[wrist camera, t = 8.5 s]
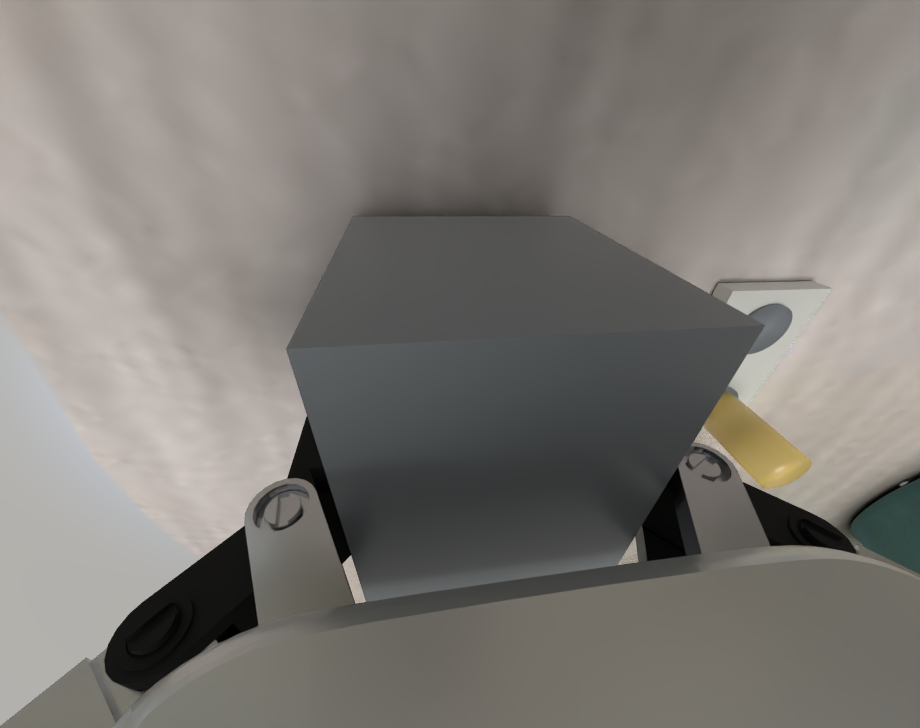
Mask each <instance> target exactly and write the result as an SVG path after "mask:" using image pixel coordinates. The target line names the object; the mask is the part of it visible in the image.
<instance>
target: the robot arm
mask: <svg viewBox="0 0 920 728" xmlns="http://www.w3.org/2000/svg"><path fill="white" fill-rule="evenodd" d="M635 537H636V545H637V553H638V561H639V563H631V564H624V565H617V566H609V567H602V568H595V569H588V570H581V571H574V572H567V573H560V574H552V575H545V576H538V577H531V578H524V579H517V580H510V581H503V582H496V583H489V584H483V585H476V586H469V587H462V588H455V589H448V590H441V591H435V592H428V593H421V594H414V595H407V596H400V597H394V598H388V599H382V600H376V601H370V602H364V603H358V604H355V601H354V598H353V595H352V592H351V589H350V586H349V583H348V580H347V577H346V574H345V571H344V568H343V565H342V564H343V563H344V562H345V561H346V559H347V558H348V557H349V556H350V555H351V552H350V549H349V546H348V543H347V540H346V536H345V533H344V530H343V527H342V524H341V521H340V518H339V514H338V511H337V508H336V505H335V502H334V499H333V495H332V492H331V489H330V486H329V483H328V480H327V476H326V473H325V470H324V467H323V464H322V461H321V457H320V454H319V451H318V448H317V445H316V442H315V438H314V435H313V432H312V429H311V426H310V423H309V419H308V416H307V417H306V420H305V424H304V427H303V430H302V433H301V436H300V440H299V443H298V446H297V449H296V452H295V456H294V459H293V462H292V465H291V468H290V472H289V475H288V478H287V479H284V480H281V481H277V482H275V483H273V484H271V485H269V486H267V487H266V488H264V489H263V490H262V491H261V492H260V493H258V494H257V495H256V496H255V498H254V499H253V500H252V501H251V503H250V504H249V506H248V508H247V511H246V513H245V526H244V527H242V528H241V529H240V530H238V531H237V532H236V533H234V534H233V535H232V536H230V537H229V538H228V539H226V540H225V541H224V542H222V543H221V544H220V545H218V546H217V547H216V548H214V549H213V550H212V551H210V552H209V553H208V554H206V555H205V556H204V557H202V558H201V559H200V560H198V561H197V562H196V563H194V564H193V565H192V566H190V567H189V568H188V569H186V570H185V571H184V572H182V573H181V574H180V575H178V576H177V577H176V578H174V579H173V580H172V581H170V582H169V583H168V584H166V585H165V586H164V587H162V588H161V589H160V590H159V591H157V592H156V593H154V594H153V595H152V596H150V597H149V598H148V599H146V600H145V601H144V602H142V603H141V604H140V605H139V606H138V607H137V608H136V609H134V610H133V611H132V612H131V613H130V614H129V615H128V616H127V617H126V619H125V620H124V621H123V622H122V624H121V625H120V626H119V627H118V628H117V630H116V631H115V633H114V635H113V637H112V639H111V641H110V642H109V644H108V647H107V649H106V650H104V651H103V652H102V653H101V654H99V655H98V656H97V657H96V658H94V660H90V659H88V658H85V659H84V660H83V661H81V662H80V663H79V664H78V665H76V666H75V667H74V668H73V669H71V670H70V671H69V672H68V673H66V674H65V675H64V676H63V677H61V678H60V679H59V680H58V681H56V682H55V683H54V684H53V685H51V686H50V687H49V688H48V689H46V690H45V691H44V692H42V693H41V694H40V695H39V696H38V697H36V698H35V699H34V700H32V701H31V702H30V703H29V704H27V705H26V706H25V707H24V708H22V709H21V710H20V711H19V712H17V713H16V714H15V715H14V716H12V717H11V718H10V719H9V720H7V721H6V722H5V723H4V724H2V725H1V726H0V728H920V574H918V573H916V572H914V571H912V570H910V569H908V568H906V567H904V566H902V565H900V564H897V563H895V562H893V561H891V560H889V559H887V558H885V557H883V556H881V555H879V554H877V553H875V552H873V551H871V550H869V549H866V548H864V547H862V546H860V545H856V546H855V547H853V545H852V544H851V543H850V541H849V540H848V539H847V538H846V537H845V536H844V535H843V534H842V533H841V532H840V531H839V530H838V529H837V528H835V527H834V526H832V525H831V524H830V523H828V522H827V521H825V520H823V519H822V518H820V517H818V516H816V515H814V514H812V513H810V512H807V511H805V510H803V509H801V508H799V507H796V506H794V505H792V504H790V503H788V502H785V501H783V500H781V499H779V498H777V497H774V496H772V495H770V494H768V493H766V492H763V491H761V490H759V489H757V488H755V487H752V486H750V485H748V484H746V483H744V482H742V480H741V478H740V475H739V473H738V471H737V469H736V468H735V466H734V465H733V463H732V462H731V461H730V460H729V459H728V458H727V457H726V456H724V455H723V454H722V453H720V452H719V451H717V450H715V449H713V448H711V447H709V446H707V445H704V444H701V443H696V442H693V443H692V445H691V446H690V448H689V450H688V451H687V453H686V454H685V456H684V458H683V459H682V461H681V463H680V464H679V466H678V467H677V469H676V471H675V472H674V474H673V475H672V477H671V479H670V480H669V482H668V484H667V485H666V487H665V488H664V490H663V492H662V493H661V495H660V497H659V498H658V500H657V501H656V503H655V505H654V506H653V508H652V509H651V511H650V513H649V514H648V516H647V518H646V519H645V521H644V522H643V524H642V526H641V527H640V529H639V531H638V532H637V534H636V535H635Z"/></svg>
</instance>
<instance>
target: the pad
mask: <svg viewBox="0 0 920 728" xmlns="http://www.w3.org/2000/svg"><path fill="white" fill-rule="evenodd" d="M831 290H832V288H829V287H827V286H825V285H822V284H820V283H817V282H815V281H792V282H746V283H718V284H717V286H716V288H715V290H714V292H713V294H712V296H714V297H716V298H717V299H719V300H721V301H723V302H725V303H726V304H728V305H730V306H732V307H734V308H735V309H737V310H739V311H741V312H742V313H744V314H746V315H748V316H750V317H751V318H753V319H755V320H757V321H759V322H760V323H762V324H764V325H765V327H764V328H763V330H762V331H761V333H760V335H759V336H758V338H757V340H756V341H755V343H754V344H753V346H752V348H751V349H750V351H749V352H748V354H747V356H746V357H745V359H744V361H743V362H742V364H741V365H740V367H739V369H738V370H737V372H736V374H735V375H734V377H733V378H732V380H731V382H730V383H729V385H728V386H727V388H726V390H725V391H724V393H723V395H722V396H721V398H720V399H719V401H718V403H717V404H716V406H715V408H714V409H713V411H712V412H711V414H710V416H709V417H708V419H707V420H706V422H705V424H704V425H703V427H702V428H705V429H706V430H707V431H708V432H709V433H710V434H711V435H712V436H713V437H714V438H715V439H716V440H717V441H718V442H719V443H720V444H721V445H722V446H723V447H724V448H725V449H726V450H727V451H728V452H729V453H730V455H731V456H732V457H733V458H734V459H735V460H736V461H737V462H738V463H739V464H740V465H741V466H742V467H743V468H744V469H745V470H746V471H747V472H748V473H749V474H750V475H751V476H752V477H753V478H754V479H755V480H756V482H757V483H758V484H759V485H760V486H761V487H763V488H767V489H770V488H776V487H780V486H783V485H786V484H788V483H790V482H792V481H794V480H796V479H797V478H799V477H800V476H802V475H803V474H804V473H805V472H807V470H808V469H809V468H810V466H811V463H812V462H811V460H810V459H809V458H807V457H806V456H805V455H804V454H803V453H802V452H800V451H799V450H798V449H797V448H796V447H794V446H793V445H792V444H791V443H790V442H789V441H787V440H786V439H785V438H784V437H783V436H782V435H780V434H779V433H778V432H777V431H776V430H774V429H773V428H772V427H771V426H770V425H769V424H767V423H766V422H765V421H764V420H763V419H761V418H760V417H759V416H758V415H757V414H756V413H754V412H753V411H752V410H751V409H750V408H748V407H747V406H748V405H749V403H750V402H751V400H752V399H753V398H754V396H755V395H756V393H757V392H758V391H759V389H760V388H761V387H762V385H763V384H764V382H765V381H766V380H767V378H768V377H769V376H770V374H771V373H772V371H773V370H774V369H775V367H776V366H777V364H778V363H779V362H780V360H781V359H782V358H783V356H784V355H785V353H786V352H787V351H788V349H789V348H790V347H791V345H792V344H793V342H794V341H795V340H796V338H797V337H798V335H799V334H800V333H801V331H802V330H803V329H804V327H805V326H806V324H807V323H808V322H809V320H810V319H811V318H812V316H813V315H814V313H815V312H816V311H817V309H818V308H819V306H820V305H821V304H822V302H823V301H824V300H825V298H826V297H827V295H828V294H829V293H830V291H831Z"/></svg>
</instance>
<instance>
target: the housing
mask: <svg viewBox="0 0 920 728" xmlns="http://www.w3.org/2000/svg"><path fill="white" fill-rule="evenodd" d="M764 327H765V325H764V324H762V323H760V322H759V321H757V320H755V319H753V318H751V317H750V316H748V315H746V314H744V313H742V312H741V311H739V310H737V309H735V308H734V307H732V306H730V305H728V304H726V303H725V302H723V301H721V300H719V299H717V298H716V297H714V296H712V295H710V294H708V293H707V292H705V291H703V290H701V289H700V288H698V287H696V286H694V285H692V284H691V283H689V282H687V281H685V280H683V279H682V278H680V277H678V276H676V275H674V274H673V273H671V272H669V271H667V270H666V269H664V268H662V267H660V266H658V265H657V264H655V263H653V262H651V261H649V260H648V259H646V258H644V257H642V256H640V255H639V254H637V253H635V252H633V251H632V250H630V249H628V248H626V247H624V246H623V245H621V244H619V243H617V242H615V241H614V240H612V239H610V238H608V237H606V236H605V235H603V234H601V233H599V232H598V231H596V230H594V229H592V228H590V227H589V226H587V225H585V224H583V223H581V222H580V221H578V220H576V219H574V218H572V217H571V216H353V218H352V219H351V221H350V223H349V225H348V227H347V229H346V231H345V233H344V235H343V237H342V239H341V241H340V243H339V245H338V247H337V249H336V251H335V253H334V255H333V257H332V259H331V261H330V263H329V265H328V267H327V269H326V271H325V273H324V275H323V277H322V279H321V281H320V283H319V285H318V287H317V289H316V291H315V293H314V295H313V297H312V299H311V301H310V303H309V305H308V307H307V309H306V311H305V313H304V315H303V317H302V319H301V321H300V323H299V325H298V327H297V329H296V331H295V333H294V335H293V337H292V339H291V341H290V343H289V345H288V347H287V349H286V350H287V353H288V356H289V359H290V363H291V366H292V369H293V372H294V375H295V378H296V382H297V385H298V388H299V391H300V394H301V397H302V400H303V404H304V407H305V410H306V413H307V416H308V419H309V423H310V426H311V429H312V432H313V435H314V438H315V442H316V445H317V448H318V451H319V454H320V457H321V461H322V464H323V467H324V470H325V473H326V476H327V480H328V483H329V486H330V489H331V492H332V495H333V499H334V502H335V505H336V508H337V511H338V514H339V518H340V521H341V524H342V527H343V530H344V533H345V536H346V540H347V543H348V546H349V549H350V552H351V555H352V559H353V562H354V565H355V568H356V571H357V574H358V578H359V581H360V584H361V587H362V590H363V593H364V597H365V600H366V602H370V601H376V600H382V599H388V598H394V597H400V596H407V595H414V594H421V593H428V592H435V591H441V590H448V589H455V588H462V587H469V586H476V585H483V584H489V583H496V582H503V581H510V580H517V579H524V578H531V577H538V576H545V575H552V574H560V573H567V572H574V571H581V570H588V569H595V568H602V567H609V566H617V565H618V563H619V561H620V560H621V558H622V556H623V555H624V553H625V552H626V550H627V548H628V547H629V545H630V543H631V542H632V540H633V539H634V537H635V535H636V534H637V532H638V531H639V529H640V527H641V526H642V524H643V522H644V521H645V519H646V518H647V516H648V514H649V513H650V511H651V509H652V508H653V506H654V505H655V503H656V501H657V500H658V498H659V497H660V495H661V493H662V492H663V490H664V488H665V487H666V485H667V484H668V482H669V480H670V479H671V477H672V475H673V474H674V472H675V471H676V469H677V467H678V466H679V464H680V463H681V461H682V459H683V458H684V456H685V454H686V453H687V451H688V450H689V448H690V446H691V445H692V443H693V442H694V440H695V438H696V437H697V435H698V433H699V432H700V430H701V429H702V427H703V425H704V424H705V422H706V420H707V419H708V417H709V416H710V414H711V412H712V411H713V409H714V408H715V406H716V404H717V403H718V401H719V399H720V398H721V396H722V395H723V393H724V391H725V390H726V388H727V386H728V385H729V383H730V382H731V380H732V378H733V377H734V375H735V374H736V372H737V370H738V369H739V367H740V365H741V364H742V362H743V361H744V359H745V357H746V356H747V354H748V352H749V351H750V349H751V348H752V346H753V344H754V343H755V341H756V340H757V338H758V336H759V335H760V333H761V331H762V330H763V328H764Z"/></svg>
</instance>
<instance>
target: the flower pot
mask: <svg viewBox="0 0 920 728" xmlns="http://www.w3.org/2000/svg"><path fill="white" fill-rule="evenodd" d="M851 533H852V535H853V536H854V537H855V538H856V539H857V540H858V541H859V542H860V543H861V544H862V545H863V546H864V547H865V548H866V549H869V550H871V551H873V552H875V553H877V554H879V555H881V556H883V557H885V558H887V559H889V560H891V561H893V562H895V563H897V564H900V565H902V566H904V567H906V568H908V569H910V570H912V571H914V572H916V573H918V574H920V478H919V479H917V480H915V481H913V482H911V483H909V484H907V485H904V486H902V487H900V488H898V489H896V490H894V491H892V492H891V493H889V494H887V495H886V496H884V497H882V498H881V499H879V500H877V501H876V502H874V503H873V504H871V505H870V506H869V507H867V508H866V509H865V510H864V511H863V512H861V513H860V514H859V515H858V516H857V517H856V518H855V520H854V521H853V523H852V524H851Z"/></svg>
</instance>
